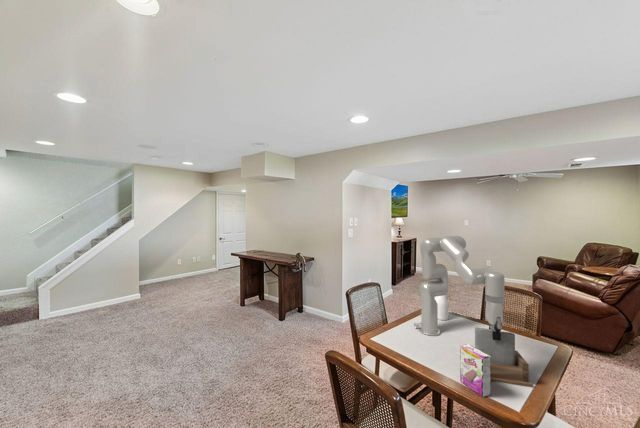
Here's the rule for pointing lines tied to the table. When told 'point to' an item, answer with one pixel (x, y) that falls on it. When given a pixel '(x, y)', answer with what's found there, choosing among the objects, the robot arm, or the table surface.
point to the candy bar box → (475, 370)
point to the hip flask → (496, 345)
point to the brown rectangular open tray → (512, 372)
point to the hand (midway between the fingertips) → (494, 337)
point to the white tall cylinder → (442, 307)
